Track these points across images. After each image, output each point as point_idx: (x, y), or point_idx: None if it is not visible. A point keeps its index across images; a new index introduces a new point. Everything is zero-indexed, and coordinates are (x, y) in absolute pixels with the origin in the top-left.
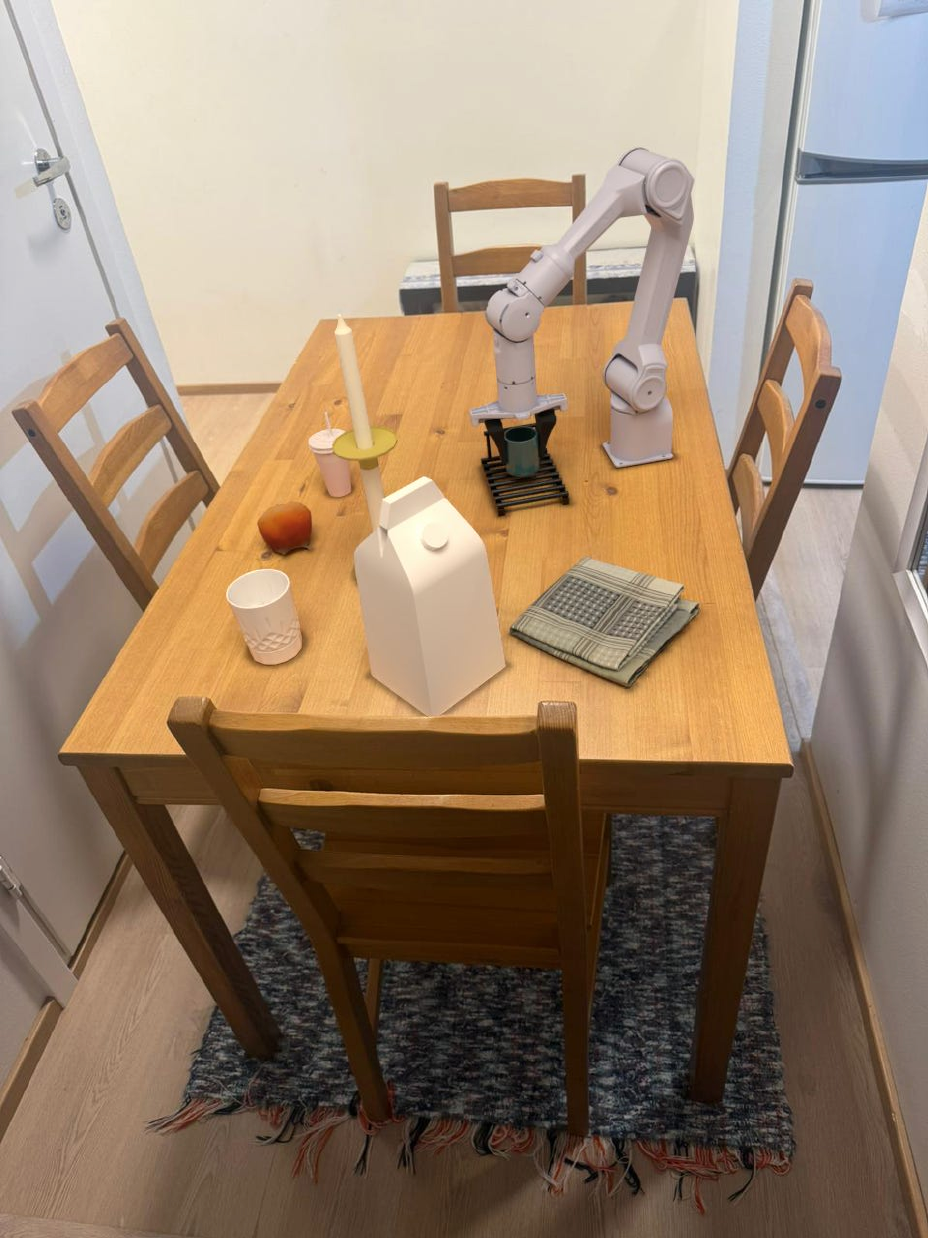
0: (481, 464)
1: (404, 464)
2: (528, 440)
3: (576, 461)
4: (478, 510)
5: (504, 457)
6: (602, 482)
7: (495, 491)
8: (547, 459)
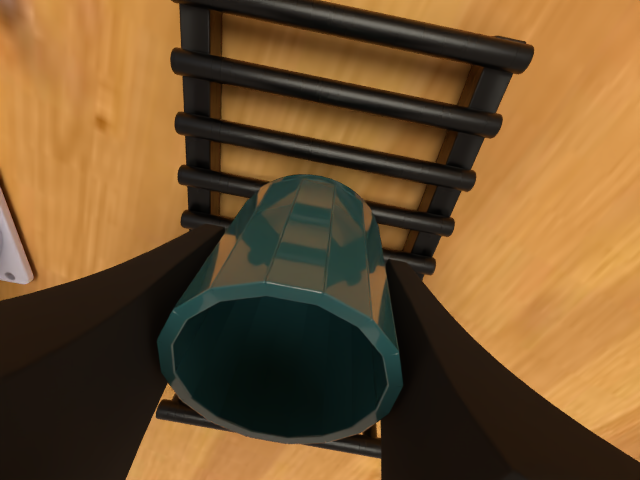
0: None
1: None
2: (250, 295)
3: (121, 247)
4: (542, 136)
5: (408, 281)
6: (39, 82)
7: (464, 173)
8: None
